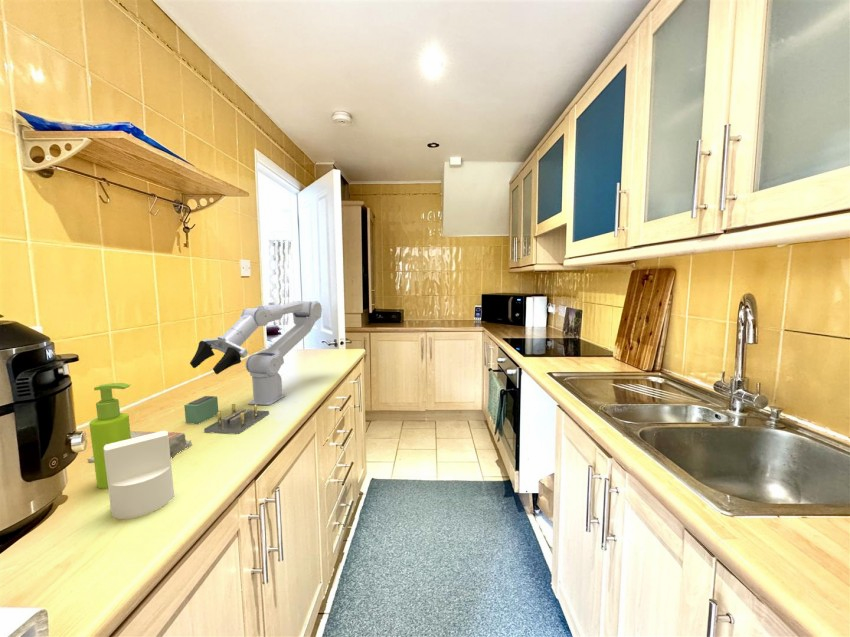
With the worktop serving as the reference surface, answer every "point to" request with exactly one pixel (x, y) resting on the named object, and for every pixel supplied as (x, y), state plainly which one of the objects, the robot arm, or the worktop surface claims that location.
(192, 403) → the block
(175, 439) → the packaged product
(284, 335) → the robot arm
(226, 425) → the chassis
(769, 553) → the worktop surface
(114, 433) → the soap dispenser
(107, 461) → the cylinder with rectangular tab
